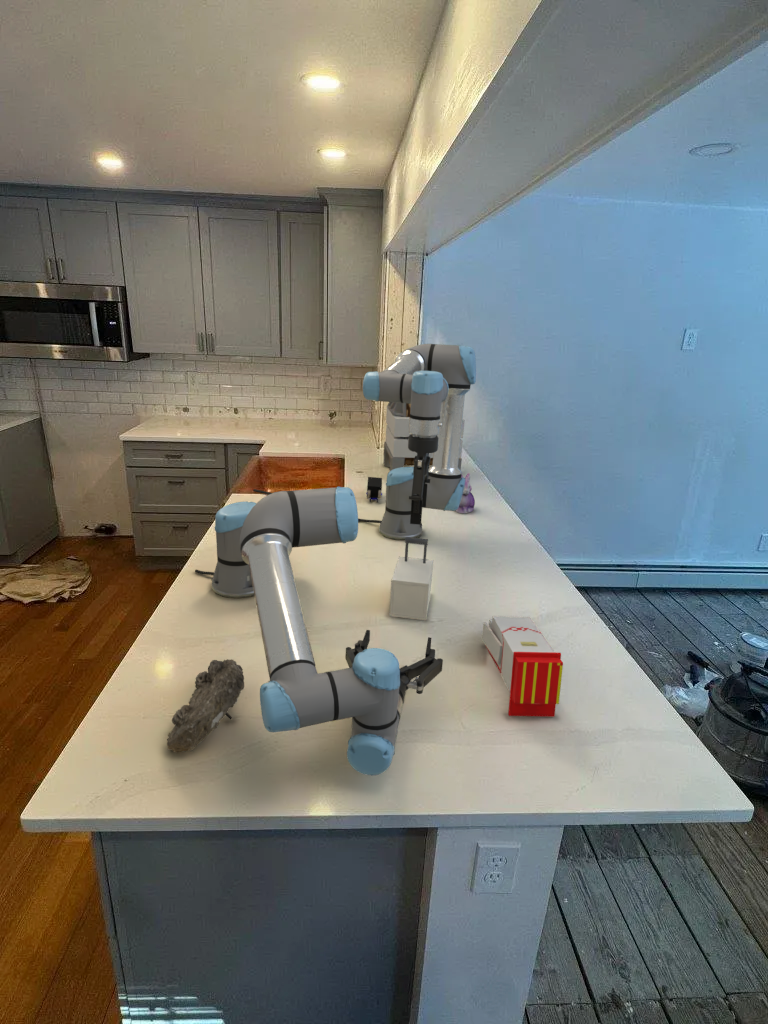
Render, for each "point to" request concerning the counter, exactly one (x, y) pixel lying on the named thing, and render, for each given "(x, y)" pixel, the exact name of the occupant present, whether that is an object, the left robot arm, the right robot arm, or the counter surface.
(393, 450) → the transformer
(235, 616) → the counter surface
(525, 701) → the toy
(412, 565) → the lid
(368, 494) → the figurine character
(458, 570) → the counter surface
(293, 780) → the counter surface
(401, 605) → the white cabinet body
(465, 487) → the figurine
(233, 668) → the fossil
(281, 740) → the counter surface
